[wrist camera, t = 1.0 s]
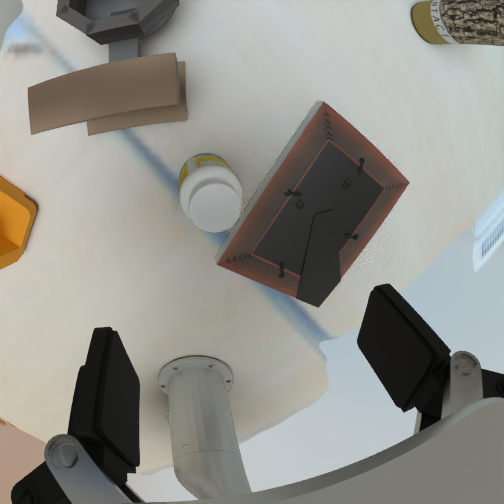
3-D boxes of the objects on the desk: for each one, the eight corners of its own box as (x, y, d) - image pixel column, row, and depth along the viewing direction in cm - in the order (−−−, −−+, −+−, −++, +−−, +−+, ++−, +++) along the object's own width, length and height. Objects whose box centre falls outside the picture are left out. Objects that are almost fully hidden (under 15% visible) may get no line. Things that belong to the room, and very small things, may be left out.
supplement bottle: (197, 210, 31) (204, 253, 23) (169, 171, 28) (163, 200, 20) (239, 184, 31) (262, 217, 23) (213, 142, 28) (226, 159, 20)
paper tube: (436, 7, 22) (580, 11, 1) (445, 47, 26) (593, 69, 5) (404, -1, 22) (565, -12, 1) (415, 41, 25) (584, 56, 4)
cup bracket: (186, 119, 26) (187, 129, 14) (92, 134, 24) (28, 160, 12) (185, -25, 18) (191, -97, 6) (92, -9, 16) (43, -62, 4)
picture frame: (312, 297, 42) (399, 177, 35) (318, 308, 40) (410, 183, 33) (214, 254, 35) (314, 101, 28) (216, 265, 33) (324, 101, 26)
